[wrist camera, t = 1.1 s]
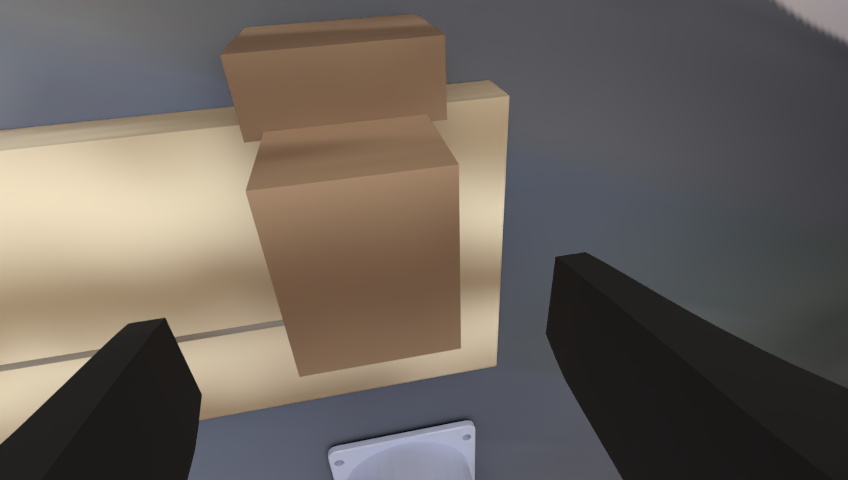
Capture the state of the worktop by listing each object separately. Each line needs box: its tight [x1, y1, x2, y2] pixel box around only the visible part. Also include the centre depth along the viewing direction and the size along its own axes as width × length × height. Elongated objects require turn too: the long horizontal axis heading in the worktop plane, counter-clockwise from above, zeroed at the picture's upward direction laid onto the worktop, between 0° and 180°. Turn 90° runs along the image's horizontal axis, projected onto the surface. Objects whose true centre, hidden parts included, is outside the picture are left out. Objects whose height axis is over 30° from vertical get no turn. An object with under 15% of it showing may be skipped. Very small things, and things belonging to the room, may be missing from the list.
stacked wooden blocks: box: [220, 13, 461, 377], centre depth 14 cm, size 10×5×7 cm, turn 2°
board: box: [0, 80, 509, 444], centre depth 17 cm, size 12×24×2 cm, turn 92°
